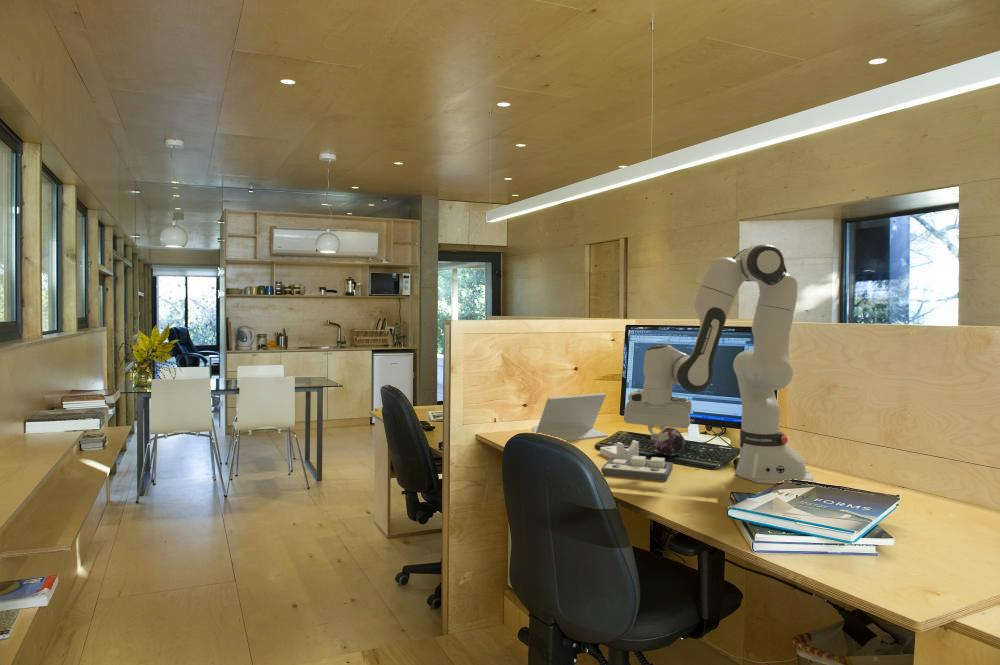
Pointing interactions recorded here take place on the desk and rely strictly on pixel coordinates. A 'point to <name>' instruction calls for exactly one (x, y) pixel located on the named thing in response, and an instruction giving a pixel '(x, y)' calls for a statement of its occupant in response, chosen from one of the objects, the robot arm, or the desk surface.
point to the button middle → (638, 461)
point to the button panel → (637, 470)
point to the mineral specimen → (670, 441)
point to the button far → (619, 462)
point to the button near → (657, 462)
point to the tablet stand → (571, 417)
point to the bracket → (621, 450)
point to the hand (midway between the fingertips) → (656, 439)
